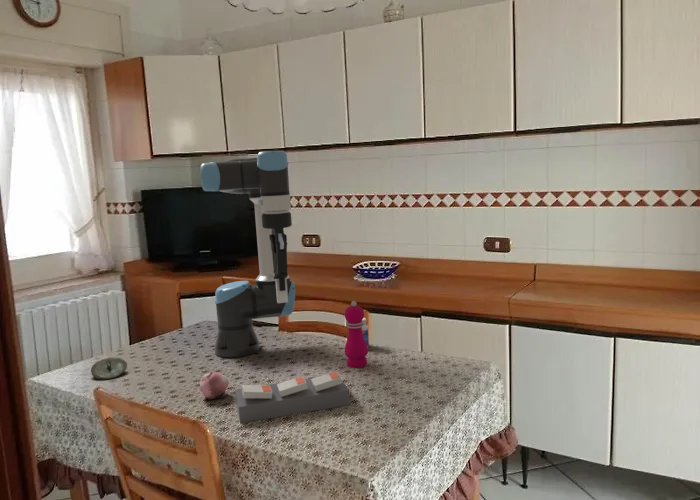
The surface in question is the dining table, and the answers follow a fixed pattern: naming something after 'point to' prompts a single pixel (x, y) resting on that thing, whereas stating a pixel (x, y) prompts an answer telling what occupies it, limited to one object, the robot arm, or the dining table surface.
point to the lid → (108, 368)
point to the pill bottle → (365, 332)
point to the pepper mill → (355, 337)
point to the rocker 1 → (256, 391)
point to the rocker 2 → (292, 386)
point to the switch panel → (291, 402)
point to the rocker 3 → (326, 381)
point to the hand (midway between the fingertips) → (282, 302)
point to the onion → (214, 385)
